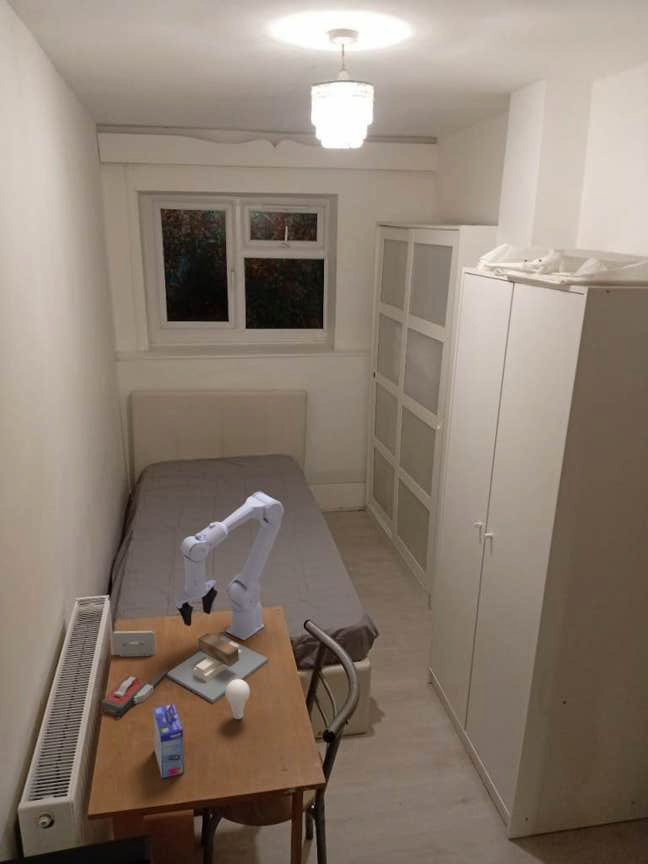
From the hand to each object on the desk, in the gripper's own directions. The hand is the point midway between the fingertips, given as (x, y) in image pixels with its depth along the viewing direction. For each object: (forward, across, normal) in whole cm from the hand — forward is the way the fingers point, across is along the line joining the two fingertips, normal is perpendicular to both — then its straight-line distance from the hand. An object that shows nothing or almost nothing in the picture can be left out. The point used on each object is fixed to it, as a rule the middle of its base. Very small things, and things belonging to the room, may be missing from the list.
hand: (197, 618), depth 192 cm
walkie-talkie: (+11, +24, 0) cm, 26 cm away
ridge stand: (+10, +3, +11) cm, 15 cm away
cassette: (+11, +13, -13) cm, 21 cm away
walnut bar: (+6, +3, +11) cm, 13 cm away
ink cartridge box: (+11, +34, +26) cm, 44 cm away
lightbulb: (+11, +14, +29) cm, 34 cm away
